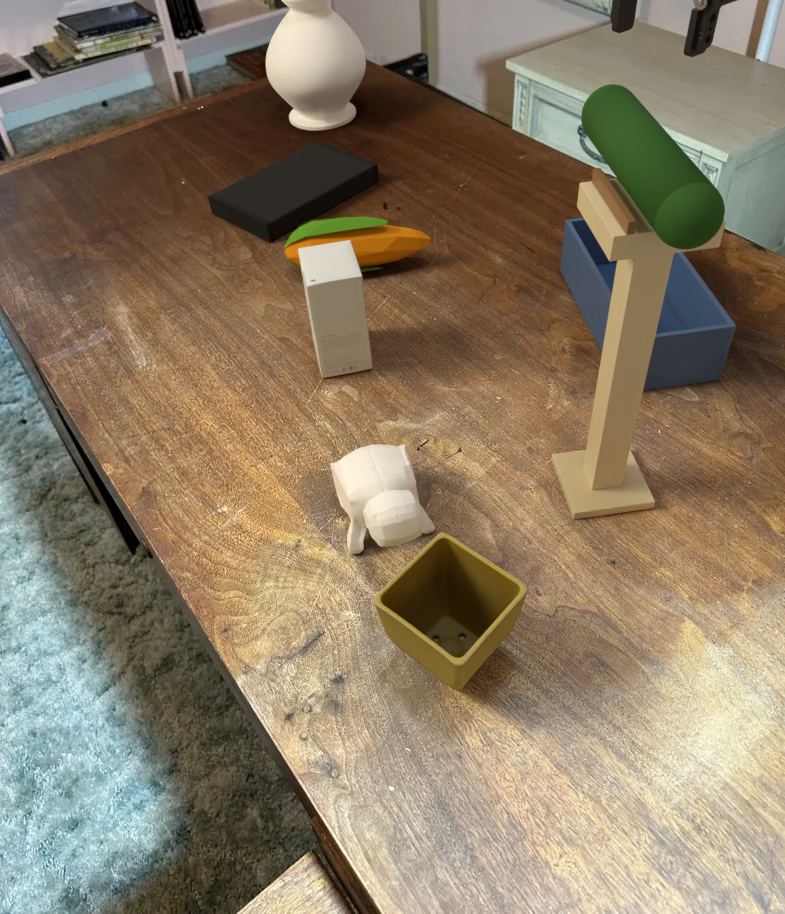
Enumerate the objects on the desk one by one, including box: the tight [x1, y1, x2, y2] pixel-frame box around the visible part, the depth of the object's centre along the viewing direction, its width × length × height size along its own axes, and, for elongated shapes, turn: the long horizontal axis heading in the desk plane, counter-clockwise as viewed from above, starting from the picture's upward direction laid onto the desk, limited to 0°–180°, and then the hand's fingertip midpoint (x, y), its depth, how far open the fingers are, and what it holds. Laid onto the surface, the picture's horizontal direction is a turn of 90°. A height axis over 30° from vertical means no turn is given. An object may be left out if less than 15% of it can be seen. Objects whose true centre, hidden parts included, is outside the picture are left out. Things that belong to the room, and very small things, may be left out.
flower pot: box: [373, 531, 529, 691], centre depth 62 cm, size 9×9×9 cm
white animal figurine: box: [330, 443, 436, 555], centre depth 72 cm, size 8×8×15 cm
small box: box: [298, 240, 374, 379], centre depth 89 cm, size 8×6×13 cm
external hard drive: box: [207, 140, 380, 243], centre depth 121 cm, size 14×23×3 cm, turn 137°
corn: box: [283, 216, 432, 273], centre depth 104 cm, size 7×8×20 cm
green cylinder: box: [580, 83, 726, 249], centre depth 55 cm, size 20×4×4 cm, turn 7°
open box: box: [559, 217, 737, 392], centre depth 92 cm, size 11×25×8 cm, turn 7°
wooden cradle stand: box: [550, 167, 727, 520], centre depth 66 cm, size 8×9×31 cm
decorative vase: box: [265, 0, 367, 131], centre depth 133 cm, size 18×18×25 cm
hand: (656, 41), depth 69 cm, fingers open, 8 cm apart
